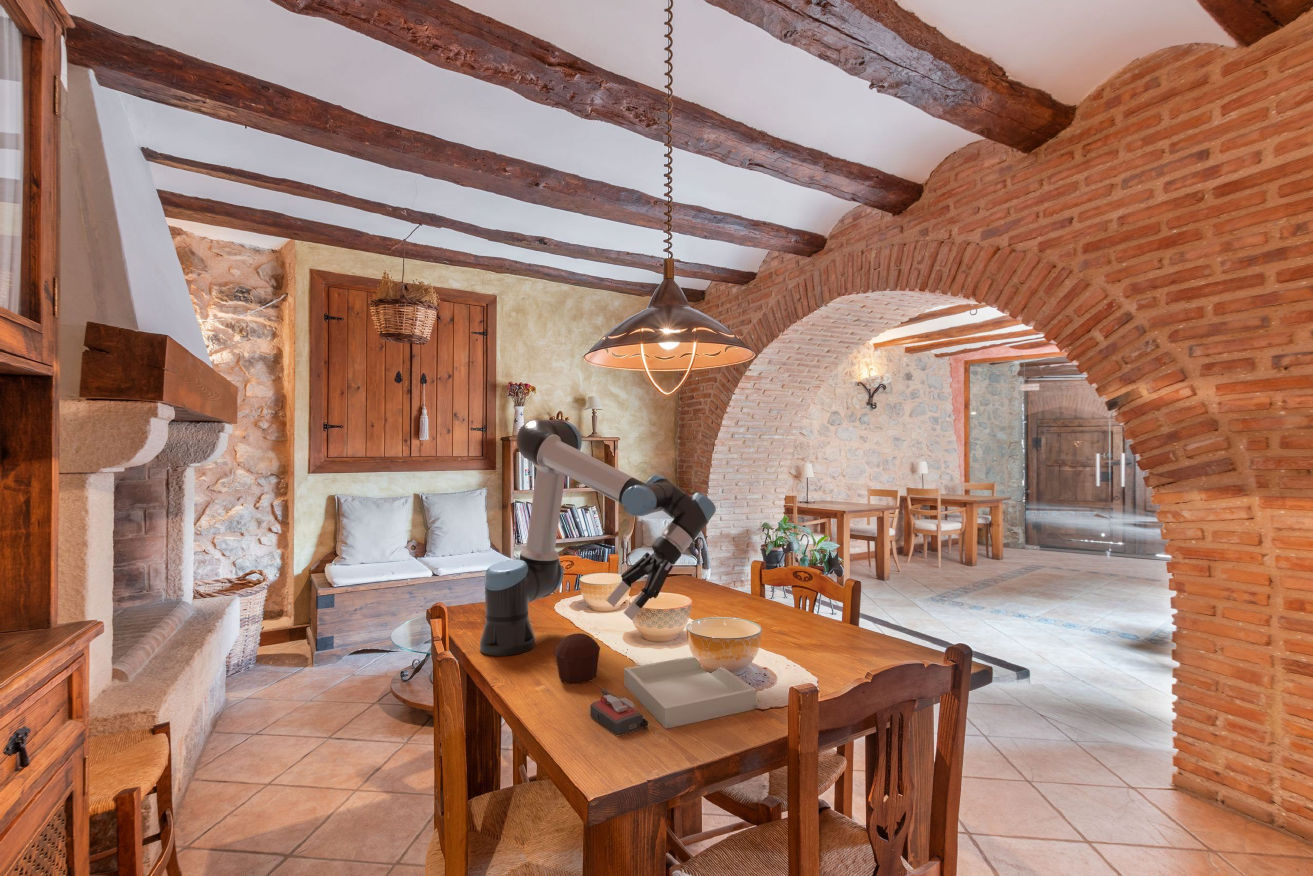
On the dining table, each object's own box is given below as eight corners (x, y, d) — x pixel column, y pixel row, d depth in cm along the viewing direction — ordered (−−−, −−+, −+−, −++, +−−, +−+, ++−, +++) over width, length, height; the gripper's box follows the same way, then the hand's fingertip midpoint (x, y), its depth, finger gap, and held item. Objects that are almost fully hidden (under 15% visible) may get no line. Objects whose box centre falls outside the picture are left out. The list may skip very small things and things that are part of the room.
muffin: (598, 686, 142) (597, 643, 142) (550, 687, 142) (550, 644, 142) (602, 667, 154) (601, 627, 154) (558, 668, 154) (558, 629, 154)
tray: (624, 685, 142) (624, 668, 142) (704, 670, 150) (704, 654, 150) (665, 728, 120) (665, 708, 120) (756, 708, 128) (756, 689, 128)
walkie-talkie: (657, 728, 121) (607, 695, 137) (657, 706, 121) (606, 676, 137) (619, 741, 116) (572, 705, 132) (619, 718, 116) (571, 685, 132)
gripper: (702, 561, 148) (646, 632, 142) (662, 547, 171) (612, 607, 165) (682, 541, 146) (625, 612, 140) (644, 529, 169) (593, 590, 163)
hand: (618, 609), depth 152 cm, fingers open, 13 cm apart
